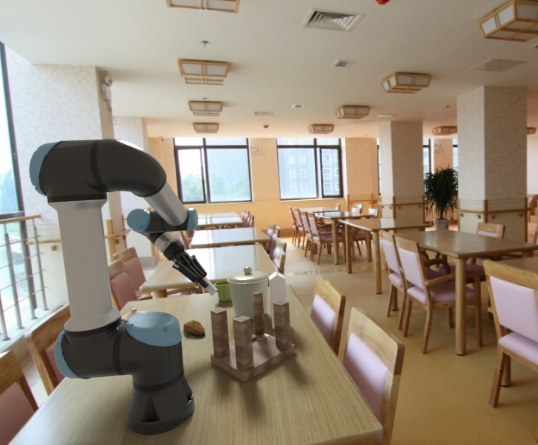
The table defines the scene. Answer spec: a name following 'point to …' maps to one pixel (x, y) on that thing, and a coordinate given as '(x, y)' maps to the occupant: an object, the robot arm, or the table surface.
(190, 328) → the croissant
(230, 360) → the stool seat
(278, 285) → the milk
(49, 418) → the table surface
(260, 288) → the canister
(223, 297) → the plant pot
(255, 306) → the hinged leg
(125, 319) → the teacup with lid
